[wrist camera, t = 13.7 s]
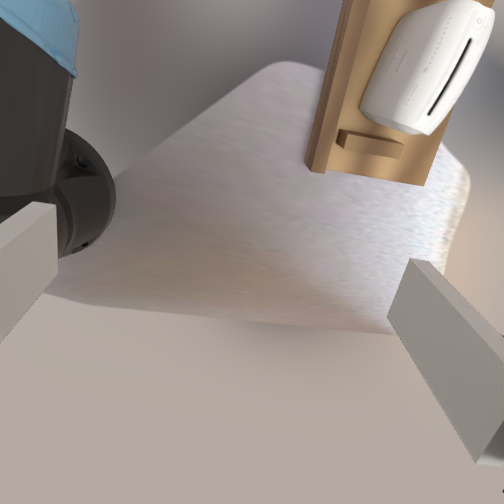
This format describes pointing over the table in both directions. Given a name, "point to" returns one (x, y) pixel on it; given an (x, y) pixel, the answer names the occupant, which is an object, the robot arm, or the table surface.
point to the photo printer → (427, 65)
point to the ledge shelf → (351, 93)
